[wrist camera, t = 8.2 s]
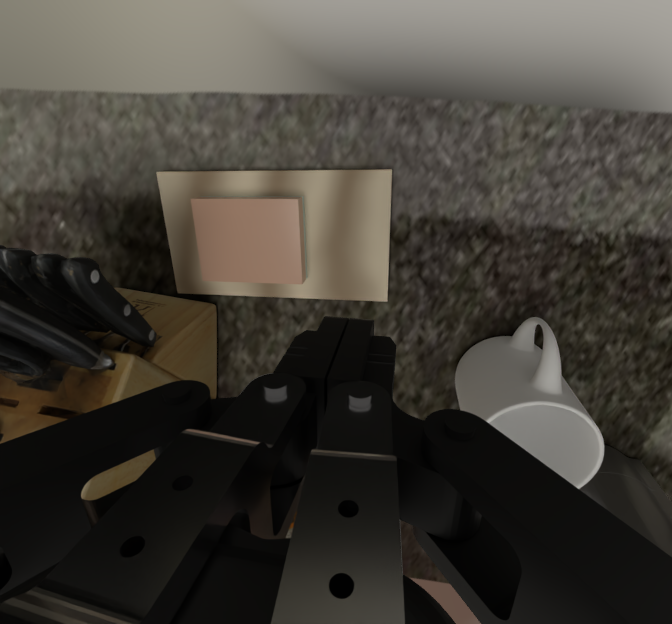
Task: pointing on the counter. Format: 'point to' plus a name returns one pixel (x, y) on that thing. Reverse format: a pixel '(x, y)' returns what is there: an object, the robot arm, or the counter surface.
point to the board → (320, 226)
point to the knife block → (91, 348)
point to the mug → (531, 401)
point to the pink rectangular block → (251, 238)
